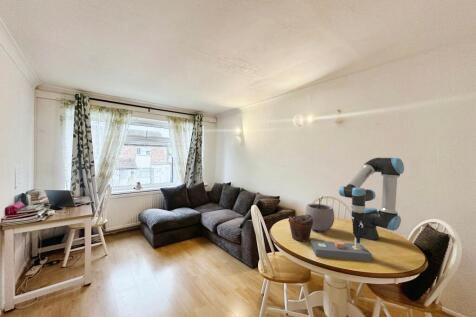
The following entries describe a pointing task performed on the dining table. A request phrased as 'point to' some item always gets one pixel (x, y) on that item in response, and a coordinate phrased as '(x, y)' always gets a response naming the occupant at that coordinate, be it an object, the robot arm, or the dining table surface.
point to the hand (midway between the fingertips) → (357, 247)
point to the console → (340, 251)
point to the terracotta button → (339, 244)
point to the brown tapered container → (301, 227)
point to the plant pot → (320, 216)
